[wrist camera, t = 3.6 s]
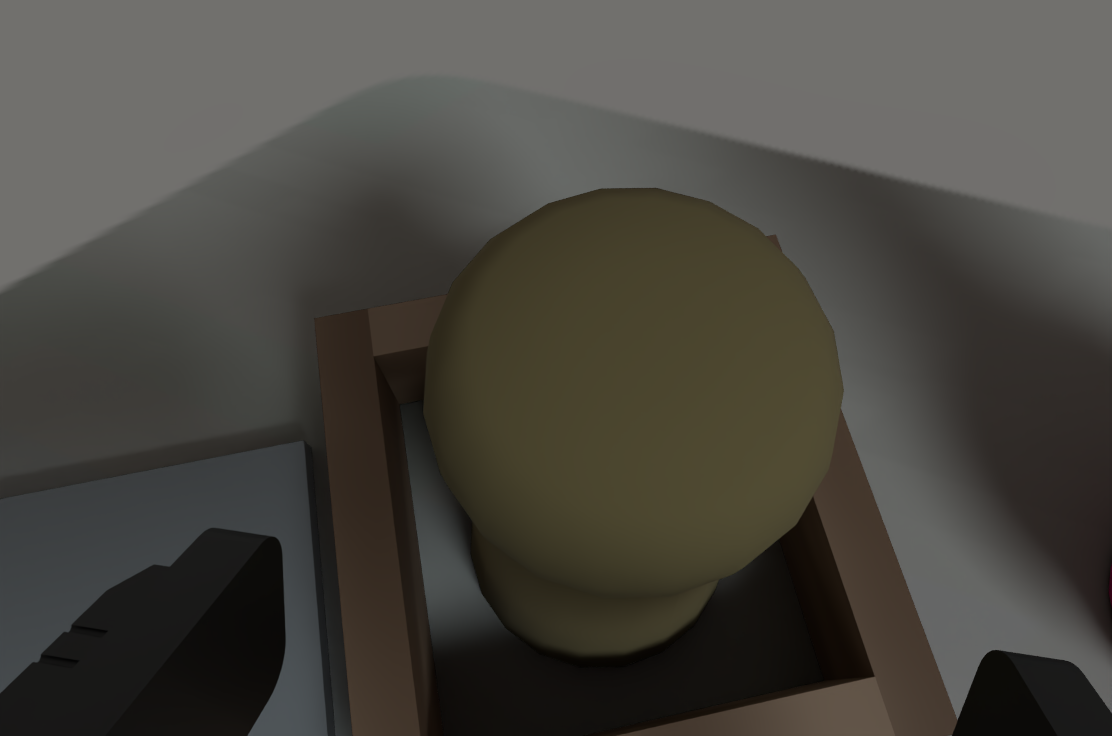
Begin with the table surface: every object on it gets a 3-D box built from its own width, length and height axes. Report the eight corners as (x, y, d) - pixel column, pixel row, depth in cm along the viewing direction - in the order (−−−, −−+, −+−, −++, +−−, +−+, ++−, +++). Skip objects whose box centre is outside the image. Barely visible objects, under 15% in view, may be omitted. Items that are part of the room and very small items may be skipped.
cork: (429, 480, 19) (280, 228, 9) (642, 374, 20) (726, 43, 10) (541, 720, 17) (514, 748, 7) (773, 587, 18) (1049, 440, 8)
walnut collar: (398, 843, 16) (365, 873, 13) (347, 370, 20) (314, 318, 17) (895, 727, 17) (961, 732, 14) (747, 296, 21) (775, 234, 18)
